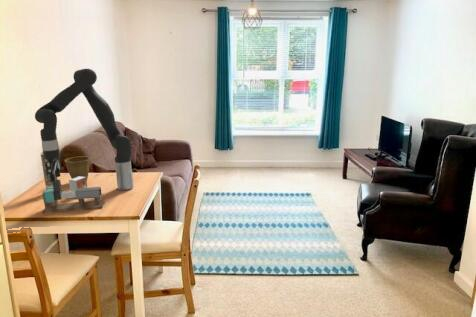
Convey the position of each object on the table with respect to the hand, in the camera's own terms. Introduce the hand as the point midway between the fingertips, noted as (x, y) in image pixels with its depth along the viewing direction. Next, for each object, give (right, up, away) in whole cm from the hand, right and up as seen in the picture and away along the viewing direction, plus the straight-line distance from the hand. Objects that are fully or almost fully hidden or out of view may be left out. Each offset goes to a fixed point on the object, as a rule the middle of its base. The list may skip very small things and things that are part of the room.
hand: (55, 178), depth 183 cm
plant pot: (-9, -5, +49) cm, 50 cm away
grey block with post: (+5, -10, +4) cm, 12 cm away
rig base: (+8, -15, +5) cm, 18 cm away
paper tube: (-16, -10, +29) cm, 35 cm away
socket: (-4, -12, +2) cm, 12 cm away
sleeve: (+15, -10, +5) cm, 19 cm away
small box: (+2, -11, +24) cm, 27 cm away
